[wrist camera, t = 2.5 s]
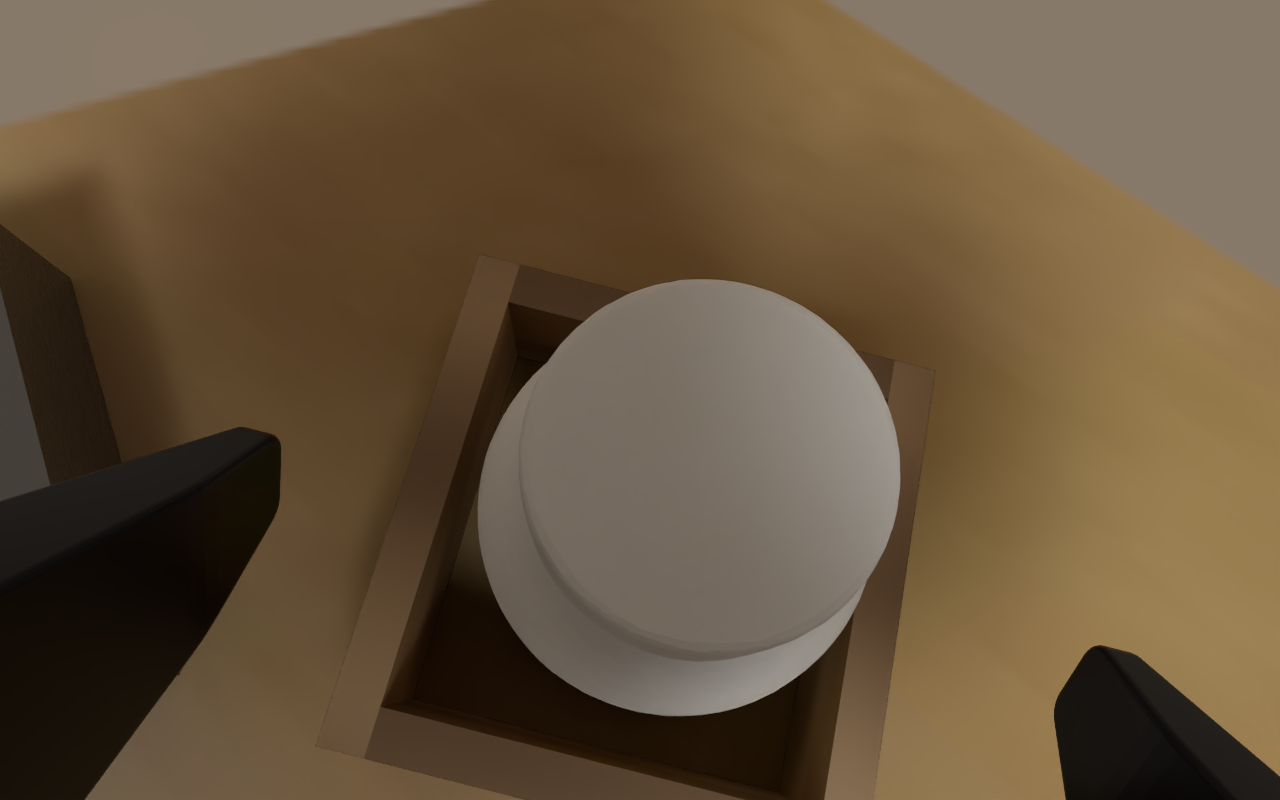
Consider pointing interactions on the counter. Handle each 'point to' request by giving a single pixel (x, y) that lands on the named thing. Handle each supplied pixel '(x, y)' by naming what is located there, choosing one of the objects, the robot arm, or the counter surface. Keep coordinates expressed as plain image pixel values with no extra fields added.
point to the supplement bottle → (689, 497)
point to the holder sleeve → (429, 542)
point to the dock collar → (45, 378)
